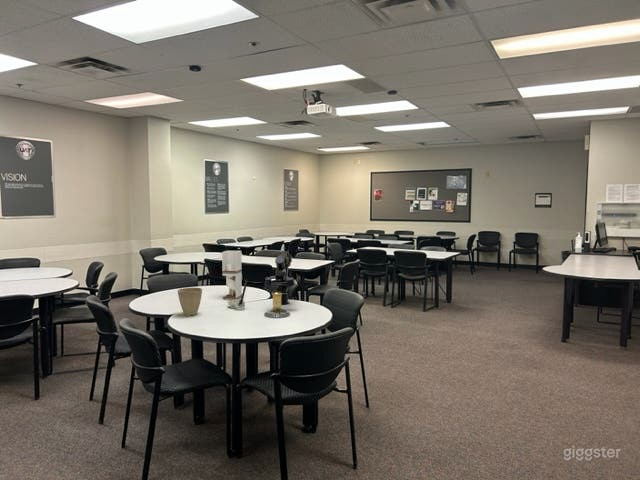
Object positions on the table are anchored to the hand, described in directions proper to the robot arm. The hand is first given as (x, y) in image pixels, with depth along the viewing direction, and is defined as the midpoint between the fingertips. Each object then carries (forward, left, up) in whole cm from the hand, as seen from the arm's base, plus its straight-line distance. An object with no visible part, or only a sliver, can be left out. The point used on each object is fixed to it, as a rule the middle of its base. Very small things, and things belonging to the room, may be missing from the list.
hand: (278, 292), depth 290 cm
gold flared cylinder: (+7, +5, -12) cm, 14 cm away
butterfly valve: (+8, -31, -13) cm, 35 cm away
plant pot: (+39, -39, -13) cm, 57 cm away
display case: (-12, -56, -13) cm, 59 cm away
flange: (+7, +5, -13) cm, 15 cm away
